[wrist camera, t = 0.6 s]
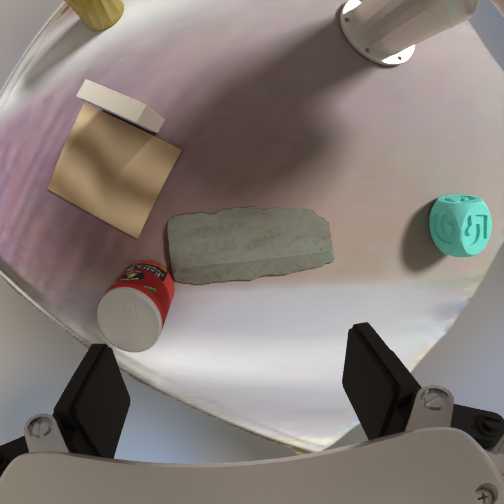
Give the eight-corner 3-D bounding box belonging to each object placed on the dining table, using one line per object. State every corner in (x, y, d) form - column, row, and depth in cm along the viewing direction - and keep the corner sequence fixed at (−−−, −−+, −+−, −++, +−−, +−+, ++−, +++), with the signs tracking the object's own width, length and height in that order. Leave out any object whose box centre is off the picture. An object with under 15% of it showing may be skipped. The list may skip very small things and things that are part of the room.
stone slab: (166, 215, 40) (177, 287, 41) (162, 216, 37) (173, 292, 39) (327, 198, 41) (332, 267, 43) (333, 198, 39) (338, 271, 40)
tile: (116, 97, 33) (85, 79, 23) (165, 119, 35) (146, 104, 25) (108, 111, 33) (75, 97, 24) (157, 134, 35) (135, 124, 26)
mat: (85, 104, 33) (84, 103, 32) (182, 149, 36) (181, 149, 36) (48, 188, 35) (47, 188, 35) (138, 238, 39) (137, 238, 38)
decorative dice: (461, 237, 43) (491, 249, 36) (429, 247, 43) (459, 261, 36) (460, 192, 41) (492, 199, 33) (426, 198, 41) (459, 206, 33)
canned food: (172, 256, 40) (155, 288, 29) (178, 310, 42) (166, 354, 31) (119, 258, 39) (89, 289, 29) (128, 310, 41) (104, 351, 31)
